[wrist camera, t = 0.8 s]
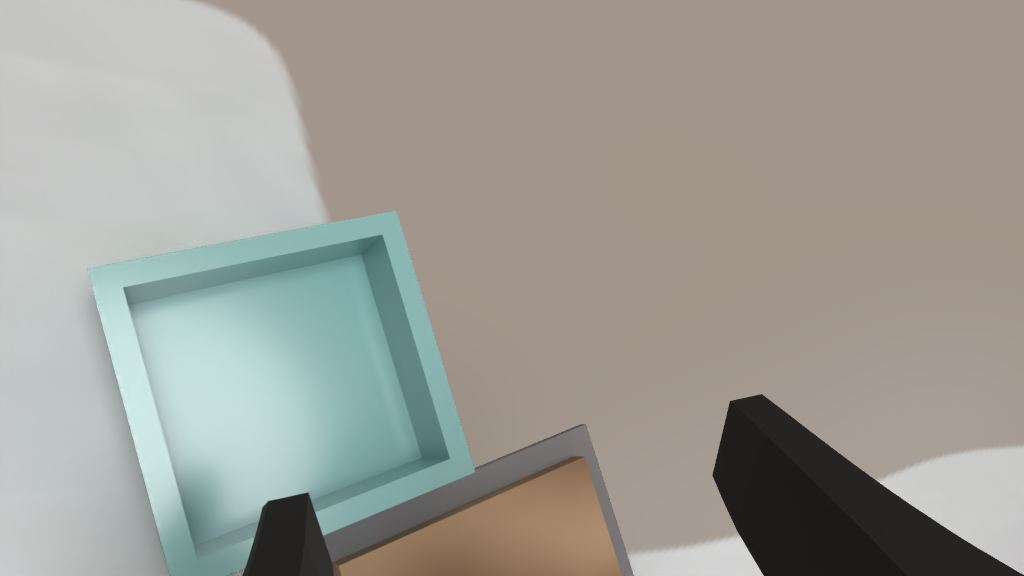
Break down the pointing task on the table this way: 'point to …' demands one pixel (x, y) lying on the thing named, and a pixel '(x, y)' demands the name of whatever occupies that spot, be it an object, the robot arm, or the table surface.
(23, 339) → the table surface
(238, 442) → the teal square tray
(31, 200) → the table surface
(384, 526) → the mat
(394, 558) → the lid
